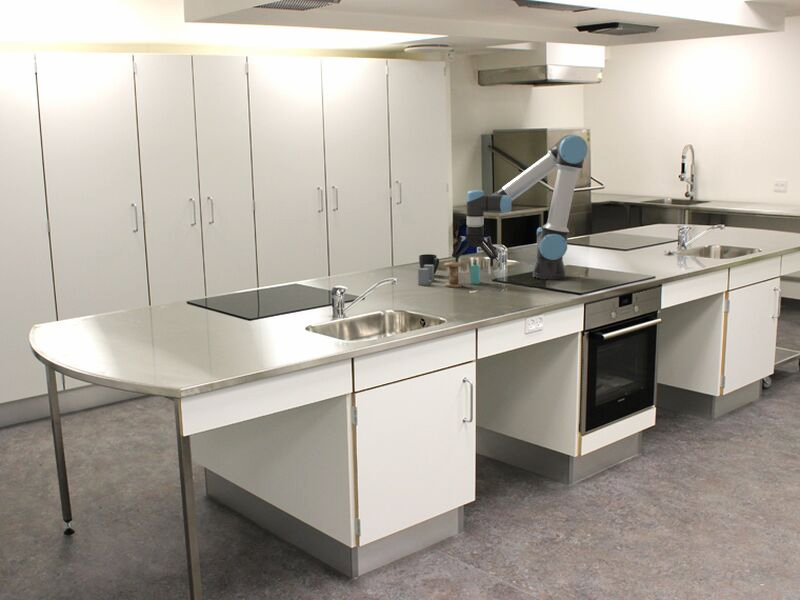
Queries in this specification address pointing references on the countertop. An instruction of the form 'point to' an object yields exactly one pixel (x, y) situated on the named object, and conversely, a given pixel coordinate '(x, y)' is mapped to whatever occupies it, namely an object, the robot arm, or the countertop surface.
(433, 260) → the mug
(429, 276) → the notch board
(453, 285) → the bobbin
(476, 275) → the teal bottle
